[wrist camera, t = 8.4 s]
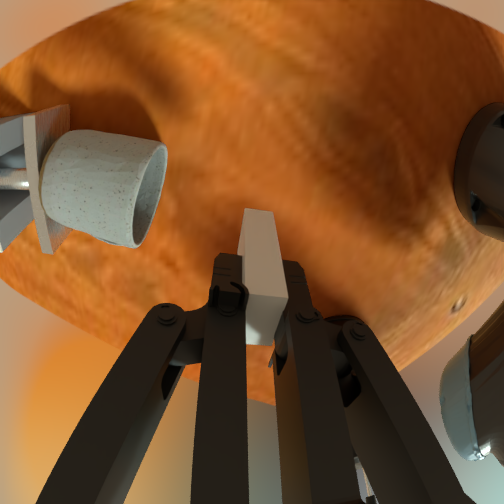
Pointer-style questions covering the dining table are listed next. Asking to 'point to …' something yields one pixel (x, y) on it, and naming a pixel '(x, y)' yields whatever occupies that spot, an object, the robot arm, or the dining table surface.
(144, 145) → the ceramic mug
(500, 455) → the robot arm
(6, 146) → the grey bracket housing
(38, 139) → the plunger
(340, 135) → the dining table surface
